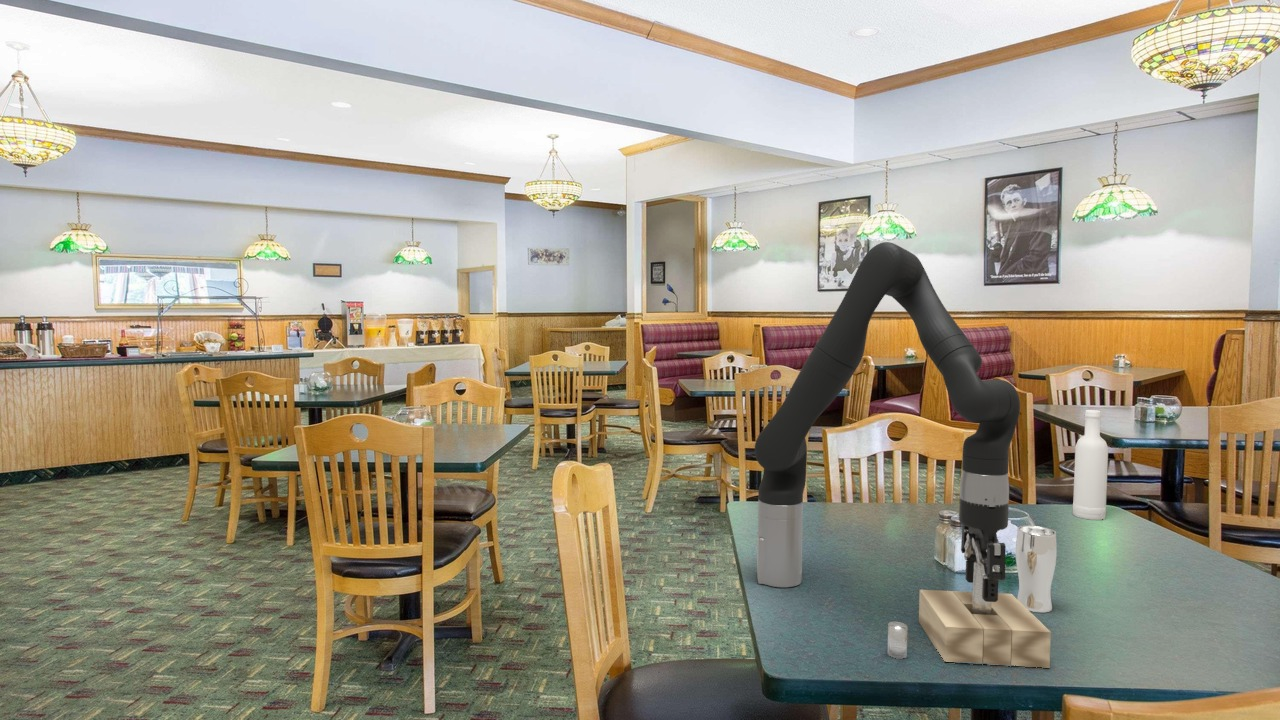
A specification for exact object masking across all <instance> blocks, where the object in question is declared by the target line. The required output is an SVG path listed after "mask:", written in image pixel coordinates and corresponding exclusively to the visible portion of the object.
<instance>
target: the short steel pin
mask: <svg viewBox="0 0 1280 720" xmlns="http://www.w3.org/2000/svg"><path fill="white" fill-rule="evenodd" d="M887 625H888V626H887V655H888V657H890V656H891V657H890V658H892V657H893V658H892V659H895V658H896V660H904V659H903V658H905V659H907V657H908V655H907V654H908V651H907V650H908V625H907V624H906V623H903V622H900V621H890V622H888V624H887Z"/></svg>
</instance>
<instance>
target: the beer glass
mask: <svg viewBox="0 0 1280 720" xmlns="http://www.w3.org/2000/svg"><path fill="white" fill-rule="evenodd" d="M1057 541H1058V540H1057V531H1056V530H1054V529H1052V528H1051V529H1050V528H1049V527H1044V526H1039V525H1020V526H1018V527H1017V532H1016V540H1015V563H1016V568H1017V575H1018V582H1019V583H1018V584H1019V587H1018V592H1017V593H1018V594H1017V597H1016V599H1017V600H1018V601H1020V602H1021V603H1022V604H1023V605H1024V606H1025V607H1026V608H1027V609H1028V610H1029V611H1030V612H1031V613H1041V614H1043V613H1049V612H1052V610H1053V605H1052V599H1051V587H1052V583H1053V578H1054V574H1055V571H1056V564H1057V558H1058V546H1057V544H1058V543H1057Z"/></svg>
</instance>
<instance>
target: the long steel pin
mask: <svg viewBox="0 0 1280 720" xmlns="http://www.w3.org/2000/svg"><path fill="white" fill-rule="evenodd" d="M992 572H994V568H993V569H992ZM982 590H983V574H982V568H981V566H979V565H978V563H977V561H975V562H974V576H973V583H972V592H973V596H972V614H983V615H991V607H992V602H986V601H984V599H983V598H982Z"/></svg>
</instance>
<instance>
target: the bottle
mask: <svg viewBox="0 0 1280 720" xmlns="http://www.w3.org/2000/svg"><path fill="white" fill-rule="evenodd" d="M1084 417H1085V418H1084V434H1083V435H1082V436H1081V437H1079V439H1077V442H1076V444H1075V448H1074V475H1073V476H1074V477H1073V498H1072V500H1073V503H1072V515H1073V516H1075V517H1076V518H1080V519H1083V520H1089V521H1091V520H1092V521H1102V519H1103V520H1105V519H1106V515H1107V514H1106V513H1107V487H1108V486H1107V484H1108V465H1109V464H1108V463H1109V461H1108V460H1109V459H1108V458H1109V447H1108V444H1107V441H1106V440H1105V439H1104V438H1102V436H1101V418H1102V411H1100V410H1098V409H1086V410H1085V414H1084Z"/></svg>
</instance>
